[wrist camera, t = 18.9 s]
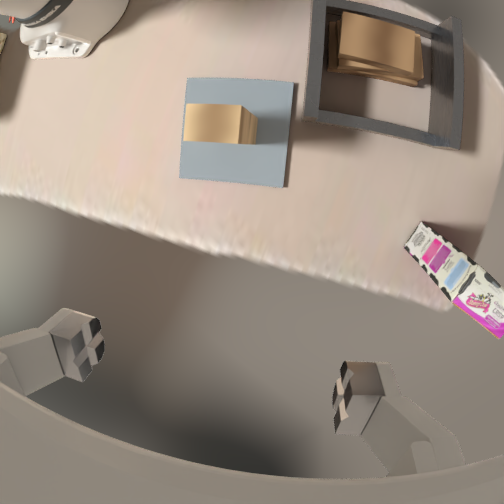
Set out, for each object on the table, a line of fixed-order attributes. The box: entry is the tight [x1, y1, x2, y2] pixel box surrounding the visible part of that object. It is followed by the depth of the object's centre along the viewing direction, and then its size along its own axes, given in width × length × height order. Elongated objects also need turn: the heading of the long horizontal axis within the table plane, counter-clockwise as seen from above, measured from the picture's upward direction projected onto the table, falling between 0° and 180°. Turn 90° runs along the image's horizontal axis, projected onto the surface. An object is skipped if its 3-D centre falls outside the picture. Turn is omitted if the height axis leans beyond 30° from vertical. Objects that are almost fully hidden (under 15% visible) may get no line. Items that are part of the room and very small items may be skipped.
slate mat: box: [179, 78, 294, 188], centre depth 38 cm, size 14×14×1 cm
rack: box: [302, 0, 464, 150], centre depth 29 cm, size 19×18×7 cm
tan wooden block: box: [183, 104, 258, 145], centre depth 31 cm, size 5×4×13 cm
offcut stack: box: [327, 11, 424, 87], centre depth 29 cm, size 12×7×6 cm, turn 87°
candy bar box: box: [404, 221, 504, 339], centre depth 32 cm, size 11×5×16 cm, turn 61°
